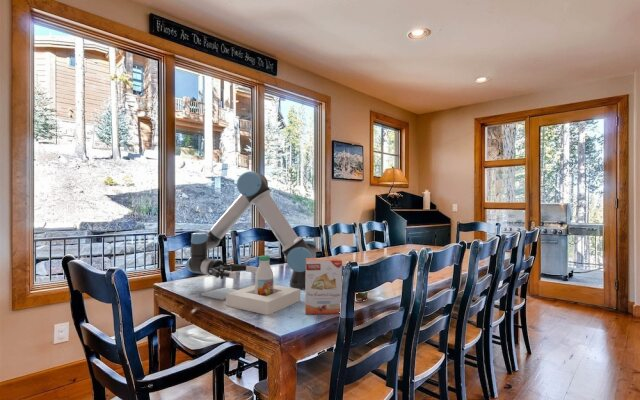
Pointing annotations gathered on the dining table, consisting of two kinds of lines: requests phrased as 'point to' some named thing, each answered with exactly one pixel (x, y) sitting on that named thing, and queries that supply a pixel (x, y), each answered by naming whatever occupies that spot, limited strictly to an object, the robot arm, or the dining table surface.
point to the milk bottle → (264, 277)
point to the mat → (218, 293)
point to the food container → (361, 296)
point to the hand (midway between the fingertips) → (246, 272)
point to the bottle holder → (263, 299)
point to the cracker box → (323, 285)
